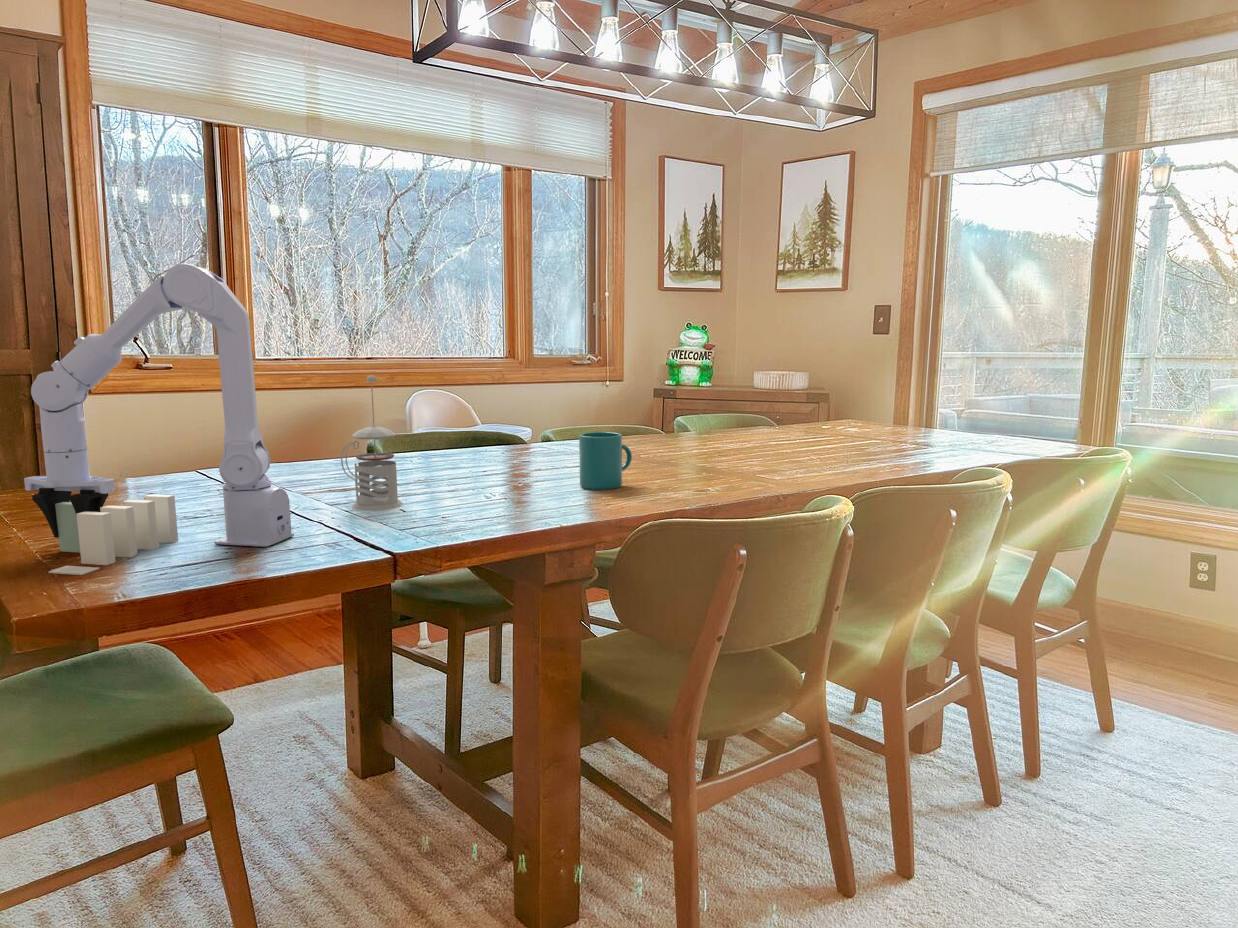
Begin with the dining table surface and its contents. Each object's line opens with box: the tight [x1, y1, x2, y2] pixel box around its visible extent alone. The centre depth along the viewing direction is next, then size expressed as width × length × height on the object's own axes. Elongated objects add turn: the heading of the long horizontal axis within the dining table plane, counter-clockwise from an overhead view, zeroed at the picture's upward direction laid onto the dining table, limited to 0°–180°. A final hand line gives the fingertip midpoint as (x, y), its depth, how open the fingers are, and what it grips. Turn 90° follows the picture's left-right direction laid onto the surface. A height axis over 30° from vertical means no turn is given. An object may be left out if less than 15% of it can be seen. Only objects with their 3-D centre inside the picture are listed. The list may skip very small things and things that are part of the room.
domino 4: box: [122, 499, 159, 551], centre depth 139 cm, size 2×4×8 cm, turn 78°
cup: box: [578, 431, 633, 491], centre depth 190 cm, size 9×12×11 cm
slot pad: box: [48, 565, 101, 576], centre depth 127 cm, size 6×3×1 cm, turn 78°
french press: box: [340, 375, 404, 511], centre depth 170 cm, size 10×12×25 cm
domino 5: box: [143, 494, 179, 544], centre depth 144 cm, size 2×4×8 cm, turn 78°
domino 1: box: [55, 501, 80, 553], centre depth 138 cm, size 2×4×8 cm, turn 78°
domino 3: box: [100, 505, 139, 558], centre depth 135 cm, size 2×4×8 cm, turn 78°
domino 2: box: [76, 512, 116, 566], centre depth 131 cm, size 2×4×8 cm, turn 78°
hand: (74, 536), depth 138 cm, fingers closed on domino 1, 4 cm apart
